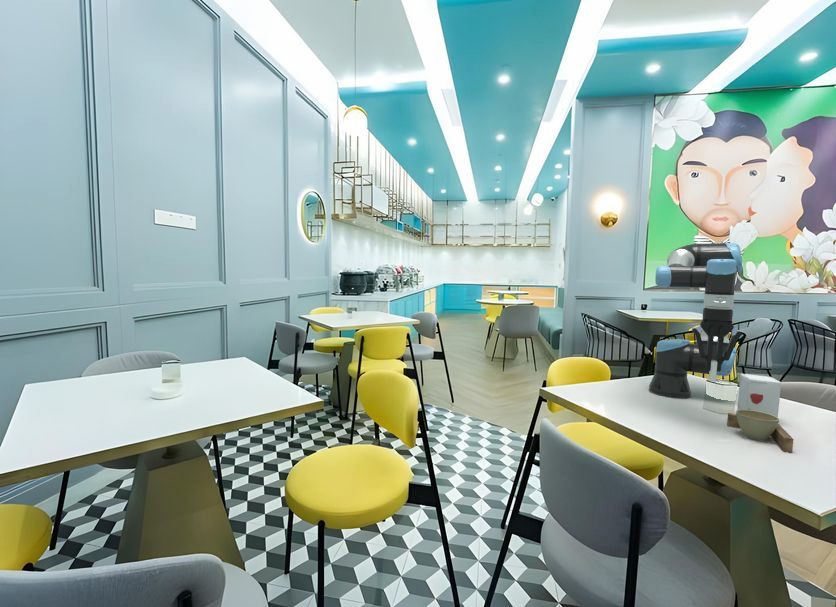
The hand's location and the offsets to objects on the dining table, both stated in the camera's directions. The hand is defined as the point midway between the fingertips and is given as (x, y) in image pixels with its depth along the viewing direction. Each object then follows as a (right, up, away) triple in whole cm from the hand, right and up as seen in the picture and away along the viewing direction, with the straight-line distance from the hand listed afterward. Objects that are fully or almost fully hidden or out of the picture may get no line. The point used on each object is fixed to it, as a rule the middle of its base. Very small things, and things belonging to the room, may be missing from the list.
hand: (712, 380), depth 126 cm
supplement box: (+24, -16, +11) cm, 31 cm away
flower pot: (+9, -17, -5) cm, 20 cm away
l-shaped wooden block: (+10, -16, -6) cm, 20 cm away
